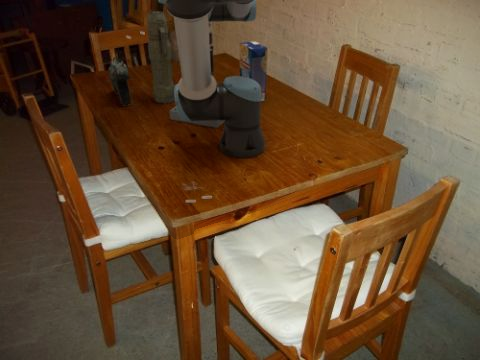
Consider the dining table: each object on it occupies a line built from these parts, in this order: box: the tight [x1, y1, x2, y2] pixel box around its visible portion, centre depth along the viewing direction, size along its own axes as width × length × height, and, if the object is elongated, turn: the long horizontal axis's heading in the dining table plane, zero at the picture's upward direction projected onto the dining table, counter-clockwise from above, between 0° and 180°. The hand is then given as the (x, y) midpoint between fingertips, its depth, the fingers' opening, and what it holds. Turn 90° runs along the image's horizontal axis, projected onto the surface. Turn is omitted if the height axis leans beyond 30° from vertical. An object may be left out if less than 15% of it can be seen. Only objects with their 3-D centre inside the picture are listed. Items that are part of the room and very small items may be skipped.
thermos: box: [146, 10, 175, 105], centre depth 166 cm, size 9×12×35 cm
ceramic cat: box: [108, 52, 132, 106], centre depth 170 cm, size 20×6×20 cm, turn 25°
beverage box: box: [239, 40, 268, 102], centre depth 172 cm, size 7×11×22 cm, turn 26°
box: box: [169, 105, 225, 129], centre depth 163 cm, size 20×20×4 cm
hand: (204, 94), depth 159 cm, fingers closed on mug, 5 cm apart
